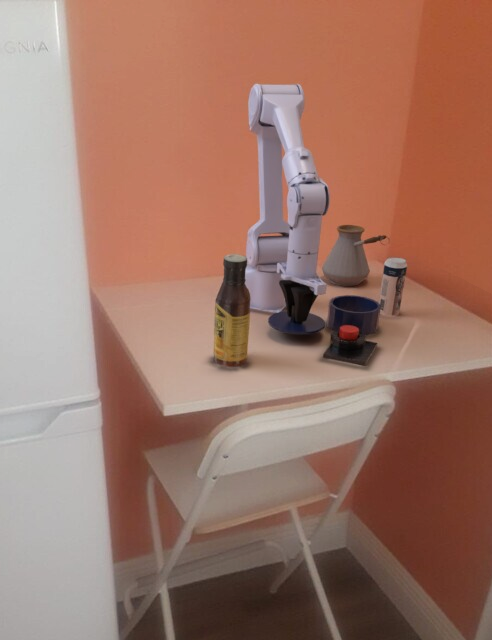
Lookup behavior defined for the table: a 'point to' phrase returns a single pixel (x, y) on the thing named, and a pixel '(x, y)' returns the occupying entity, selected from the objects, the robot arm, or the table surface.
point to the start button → (348, 332)
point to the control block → (350, 349)
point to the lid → (296, 323)
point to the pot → (354, 313)
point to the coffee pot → (348, 257)
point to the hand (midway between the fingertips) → (296, 318)
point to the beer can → (392, 286)
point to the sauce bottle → (232, 314)
